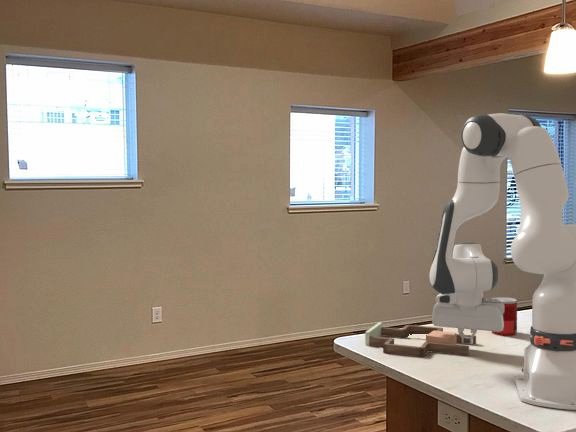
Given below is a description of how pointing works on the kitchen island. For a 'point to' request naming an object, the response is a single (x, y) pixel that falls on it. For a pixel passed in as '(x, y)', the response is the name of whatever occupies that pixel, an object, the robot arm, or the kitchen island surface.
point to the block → (442, 337)
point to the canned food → (508, 316)
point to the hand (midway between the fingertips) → (467, 343)
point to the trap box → (389, 347)
